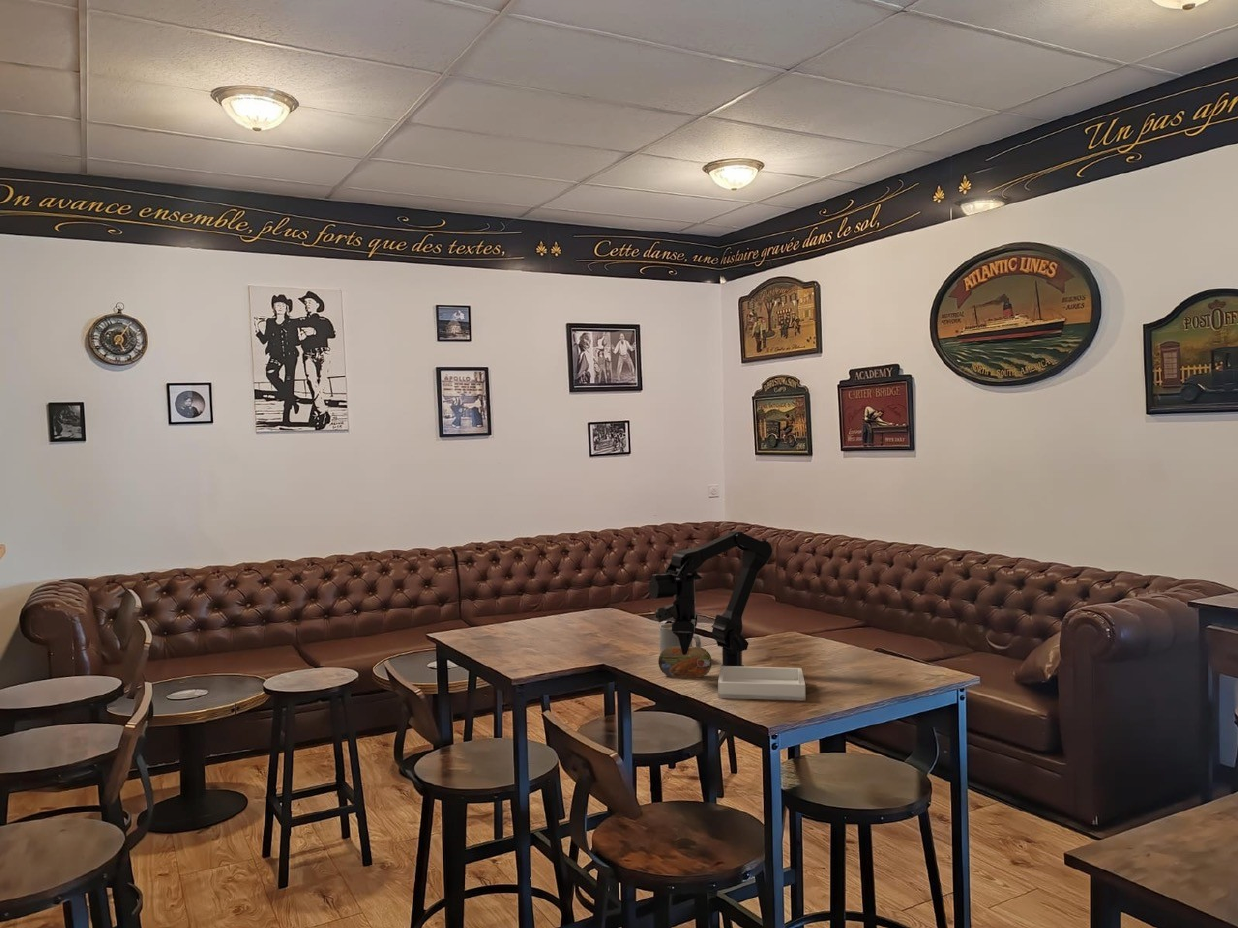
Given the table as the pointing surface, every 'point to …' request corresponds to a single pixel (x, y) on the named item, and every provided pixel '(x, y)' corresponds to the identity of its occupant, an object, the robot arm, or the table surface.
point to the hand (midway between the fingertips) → (685, 650)
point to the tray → (761, 683)
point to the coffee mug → (672, 638)
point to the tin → (685, 662)
